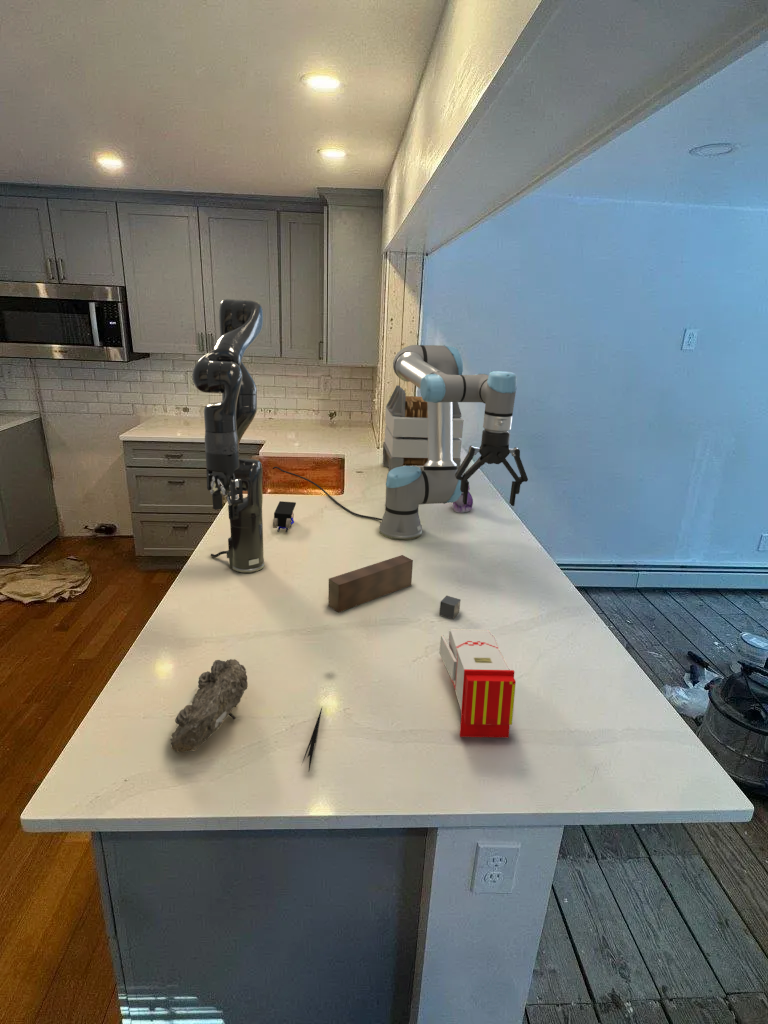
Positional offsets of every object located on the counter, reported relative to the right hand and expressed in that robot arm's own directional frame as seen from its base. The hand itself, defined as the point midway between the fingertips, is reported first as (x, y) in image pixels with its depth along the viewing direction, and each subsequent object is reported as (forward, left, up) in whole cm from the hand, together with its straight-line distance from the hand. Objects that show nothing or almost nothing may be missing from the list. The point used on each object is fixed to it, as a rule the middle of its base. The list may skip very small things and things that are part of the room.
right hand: (488, 503), depth 162 cm
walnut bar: (-11, -33, -24) cm, 42 cm away
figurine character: (-68, -26, -24) cm, 76 cm away
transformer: (-93, +64, -24) cm, 115 cm away
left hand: (-27, -67, +2) cm, 72 cm away
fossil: (+9, -88, -24) cm, 92 cm away
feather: (+22, -73, -24) cm, 80 cm away
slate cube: (+9, -23, -24) cm, 34 cm away
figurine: (-45, +42, -24) cm, 66 cm away
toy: (+34, -43, -24) cm, 60 cm away
